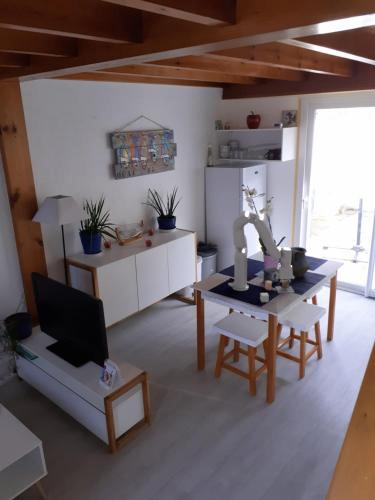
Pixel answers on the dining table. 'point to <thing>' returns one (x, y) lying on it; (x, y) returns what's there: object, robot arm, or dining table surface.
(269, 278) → the small box
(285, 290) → the grey mat
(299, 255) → the pitcher
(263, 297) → the sage block
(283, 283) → the walnut block
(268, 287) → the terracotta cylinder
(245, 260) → the robot arm
